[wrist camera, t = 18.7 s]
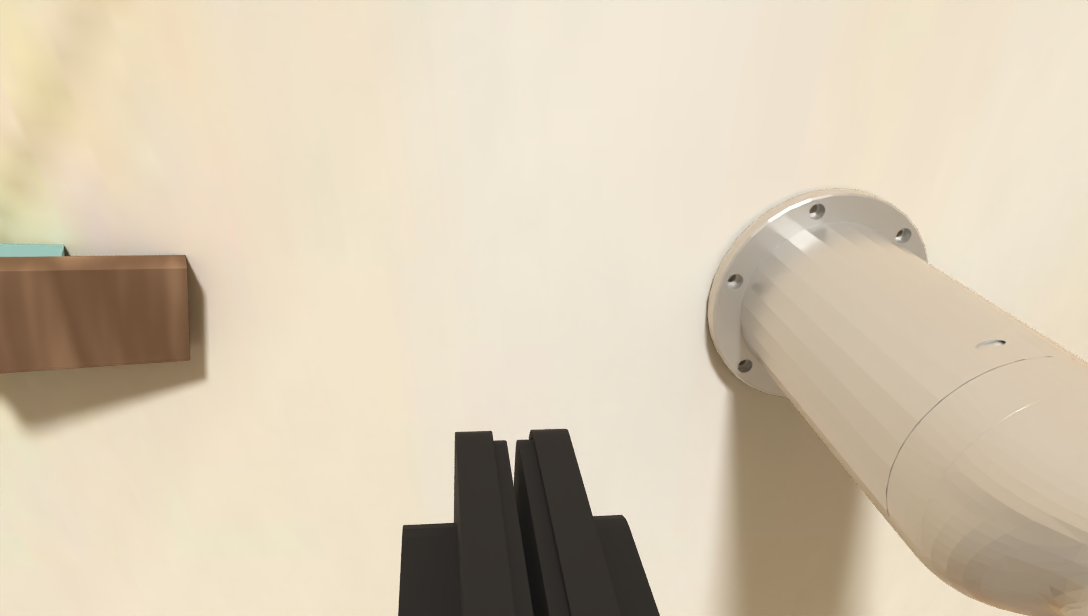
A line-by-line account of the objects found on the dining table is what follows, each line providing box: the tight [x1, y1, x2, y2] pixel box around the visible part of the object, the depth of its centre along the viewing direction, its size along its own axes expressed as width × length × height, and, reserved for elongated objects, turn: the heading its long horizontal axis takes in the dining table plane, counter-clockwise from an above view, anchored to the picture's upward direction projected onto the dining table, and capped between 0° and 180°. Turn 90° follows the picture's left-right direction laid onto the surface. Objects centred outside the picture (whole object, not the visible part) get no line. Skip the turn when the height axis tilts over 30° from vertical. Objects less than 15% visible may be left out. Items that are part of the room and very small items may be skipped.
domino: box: [0, 255, 190, 373], centre depth 34 cm, size 2×5×10 cm
